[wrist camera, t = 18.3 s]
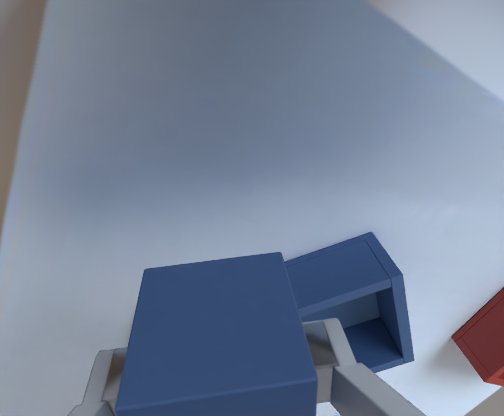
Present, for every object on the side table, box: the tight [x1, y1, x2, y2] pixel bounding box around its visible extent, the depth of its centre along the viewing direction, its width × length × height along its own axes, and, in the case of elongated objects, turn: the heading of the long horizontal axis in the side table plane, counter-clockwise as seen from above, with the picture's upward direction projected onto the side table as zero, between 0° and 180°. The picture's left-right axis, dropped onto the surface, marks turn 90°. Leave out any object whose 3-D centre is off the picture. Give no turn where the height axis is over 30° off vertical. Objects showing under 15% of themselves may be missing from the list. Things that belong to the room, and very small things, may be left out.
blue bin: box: [284, 232, 414, 373], centre depth 26 cm, size 11×10×5 cm
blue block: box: [115, 252, 318, 416], centre depth 11 cm, size 4×4×4 cm
